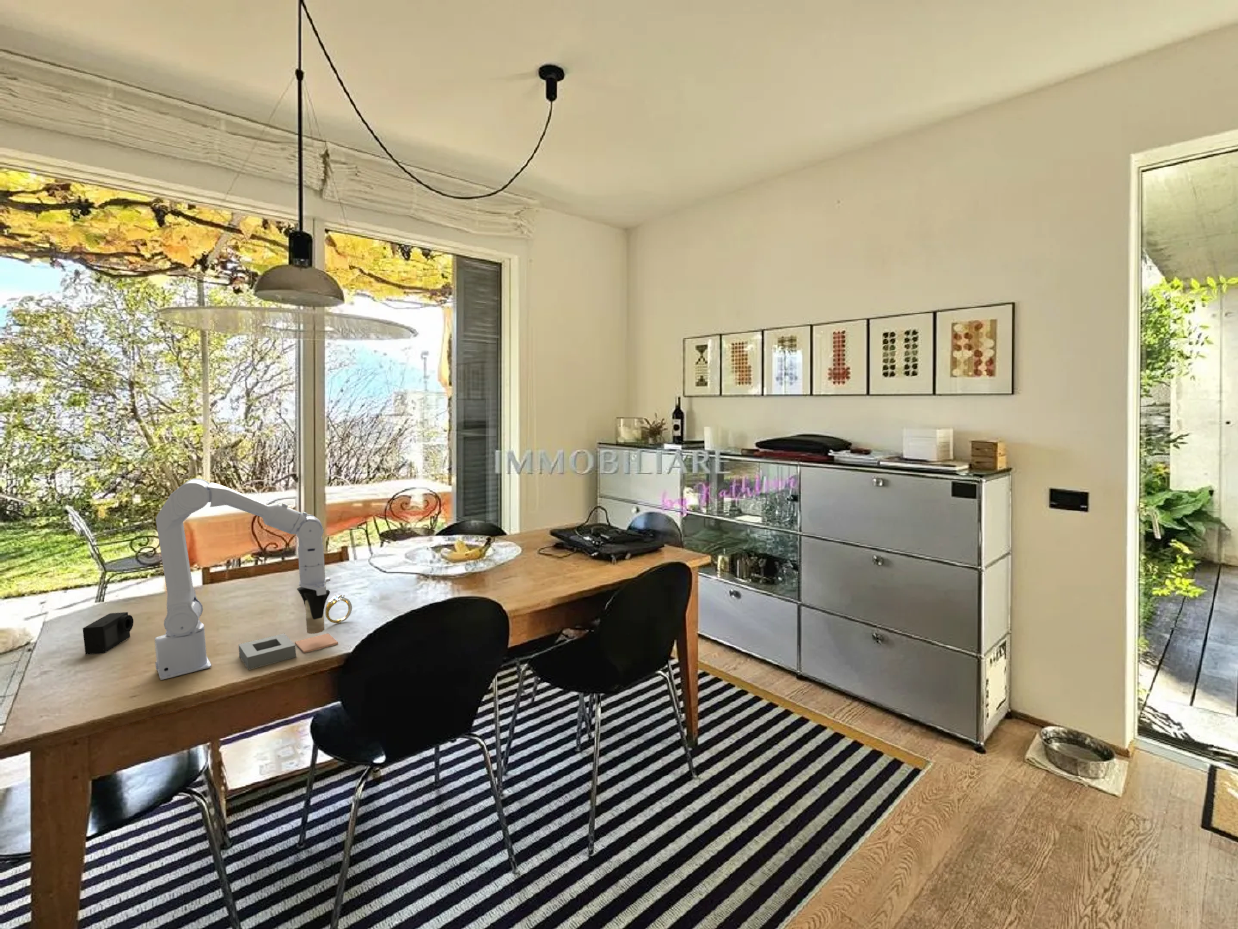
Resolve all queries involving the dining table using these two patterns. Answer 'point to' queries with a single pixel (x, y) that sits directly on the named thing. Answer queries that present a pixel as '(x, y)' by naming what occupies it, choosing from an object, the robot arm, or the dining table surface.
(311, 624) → the peg
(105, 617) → the digital camera
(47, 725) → the dining table surface
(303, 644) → the pad
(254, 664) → the pocket block
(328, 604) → the ring
